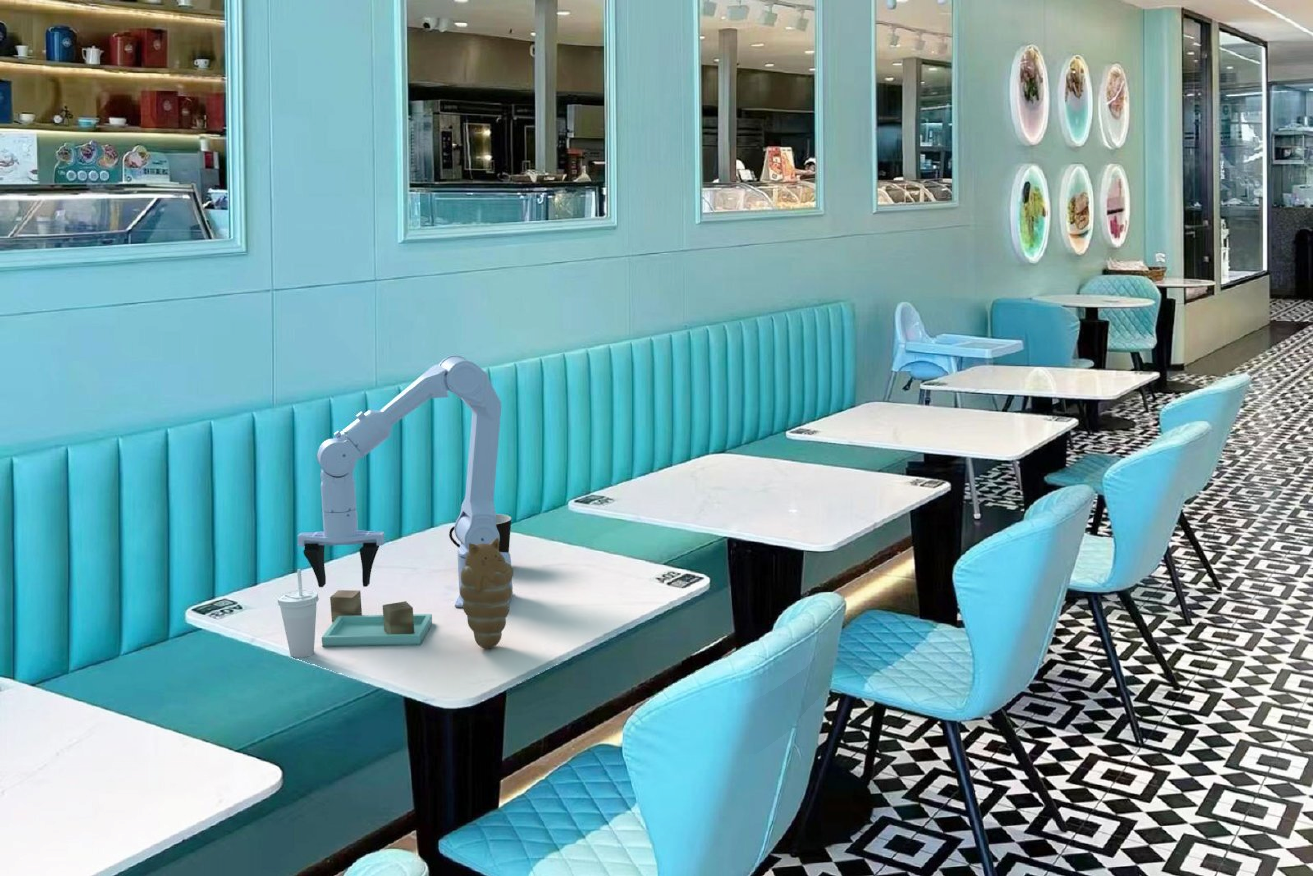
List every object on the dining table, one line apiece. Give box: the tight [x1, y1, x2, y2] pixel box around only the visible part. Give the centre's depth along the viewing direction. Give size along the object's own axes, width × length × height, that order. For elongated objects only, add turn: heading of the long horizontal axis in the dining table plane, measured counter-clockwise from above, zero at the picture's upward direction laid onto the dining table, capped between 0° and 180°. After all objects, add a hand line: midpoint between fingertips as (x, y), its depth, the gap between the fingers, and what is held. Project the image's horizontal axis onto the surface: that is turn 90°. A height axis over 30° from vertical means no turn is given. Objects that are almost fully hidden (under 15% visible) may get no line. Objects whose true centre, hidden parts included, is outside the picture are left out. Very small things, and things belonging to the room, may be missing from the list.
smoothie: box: [276, 568, 320, 658], centre depth 210 cm, size 6×6×14 cm
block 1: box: [329, 589, 363, 623], centre depth 228 cm, size 4×4×4 cm
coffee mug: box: [448, 513, 512, 553], centre depth 257 cm, size 12×9×10 cm
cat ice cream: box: [459, 538, 514, 649], centre depth 211 cm, size 9×8×18 cm
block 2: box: [382, 600, 414, 635], centre depth 220 cm, size 4×4×4 cm
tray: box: [321, 613, 433, 648], centre depth 220 cm, size 16×11×2 cm
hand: (344, 585), depth 228 cm, fingers open, 7 cm apart
